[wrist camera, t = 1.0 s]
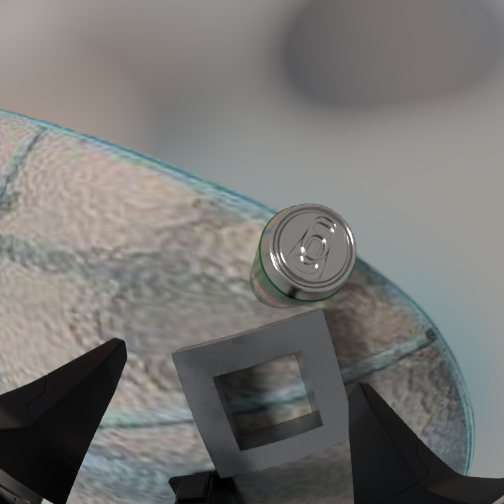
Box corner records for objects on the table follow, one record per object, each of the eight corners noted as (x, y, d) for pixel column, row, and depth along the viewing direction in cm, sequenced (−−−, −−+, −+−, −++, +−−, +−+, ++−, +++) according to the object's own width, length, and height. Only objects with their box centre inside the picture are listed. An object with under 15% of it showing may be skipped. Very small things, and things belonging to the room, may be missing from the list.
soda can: (238, 290, 24) (240, 266, 12) (266, 242, 25) (290, 178, 13) (289, 318, 23) (338, 319, 12) (314, 269, 24) (376, 228, 13)
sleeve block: (342, 422, 21) (356, 435, 18) (222, 460, 20) (220, 478, 16) (310, 310, 24) (322, 309, 20) (180, 348, 22) (171, 353, 19)
